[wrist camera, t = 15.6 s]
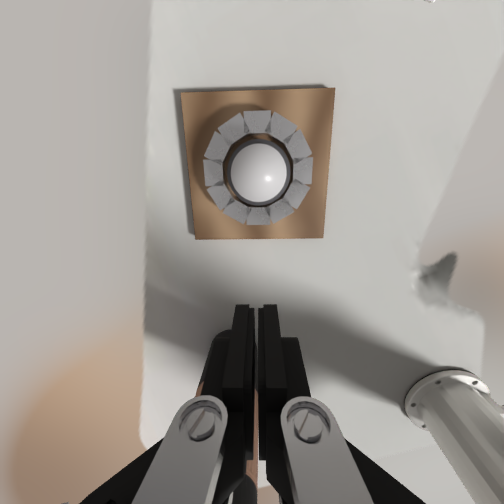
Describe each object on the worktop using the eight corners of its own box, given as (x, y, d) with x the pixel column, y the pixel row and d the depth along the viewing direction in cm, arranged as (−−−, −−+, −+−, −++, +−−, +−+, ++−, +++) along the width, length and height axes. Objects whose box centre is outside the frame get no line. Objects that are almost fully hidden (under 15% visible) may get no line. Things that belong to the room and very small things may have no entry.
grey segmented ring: (311, 113, 26) (315, 109, 24) (305, 220, 29) (309, 224, 28) (203, 116, 26) (199, 112, 24) (211, 221, 30) (208, 225, 28)
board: (332, 91, 26) (335, 87, 25) (320, 235, 31) (323, 238, 30) (183, 95, 26) (180, 92, 25) (197, 236, 32) (195, 239, 31)
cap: (287, 143, 27) (293, 139, 22) (283, 198, 29) (288, 207, 24) (232, 141, 27) (226, 137, 22) (232, 196, 29) (226, 205, 24)
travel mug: (249, 373, 39) (240, 564, 20) (203, 359, 39) (151, 544, 20) (265, 336, 37) (272, 515, 18) (217, 321, 36) (172, 490, 17)
